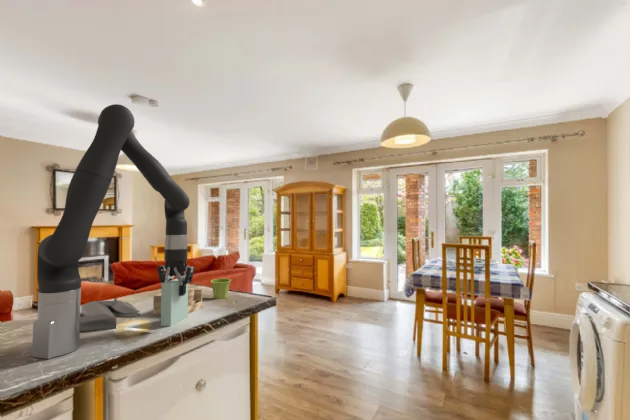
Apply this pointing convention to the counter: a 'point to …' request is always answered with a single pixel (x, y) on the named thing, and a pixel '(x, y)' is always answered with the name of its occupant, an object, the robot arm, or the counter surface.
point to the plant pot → (220, 288)
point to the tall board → (173, 303)
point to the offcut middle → (190, 299)
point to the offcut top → (190, 292)
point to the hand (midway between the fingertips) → (175, 294)
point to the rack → (190, 309)
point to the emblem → (104, 314)
